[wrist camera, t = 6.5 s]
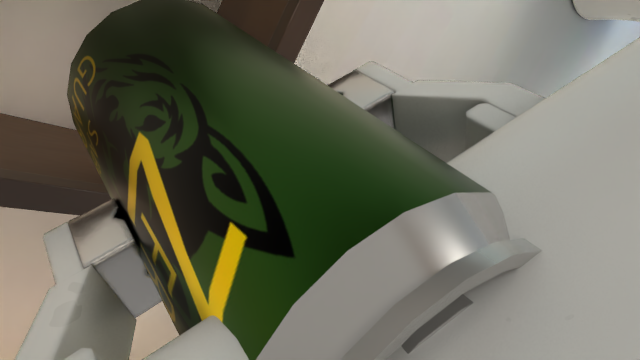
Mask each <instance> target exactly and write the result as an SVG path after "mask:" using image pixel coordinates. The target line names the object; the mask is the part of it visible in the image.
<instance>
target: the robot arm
mask: <svg viewBox="0 0 640 360" xmlns="http://www.w3.org/2000/svg"><path fill="white" fill-rule="evenodd" d="M573 4H574V6H575V9H576V11H577V12H578V14H579V15H580V16H582V17H583V18H585V19H588V20H630V21H640V0H573ZM327 86H329V87H330V88H332V89H334V90H335V91H337V92H338V93H340V94H341V95H343V96H344V97H346V98H347V99H349V100H350V101H352V102H354V103H355V104H357V105H358V106H360V107H361V108H363V109H364V110H366V111H367V112H369V113H370V114H372V115H373V116H375V117H377V118H378V119H380V120H381V121H383V122H384V123H386V124H387V125H389V126H390V127H392V128H393V129H395V130H397V131H398V132H400V133H401V134H403V135H404V136H406V137H407V138H409V139H410V140H412V141H413V142H415V143H416V144H418V145H420V146H421V147H423V148H424V149H426V150H427V151H429V152H430V153H432V154H433V155H435V156H436V157H438V158H440V159H441V160H443V161H444V162H446V163H447V164H449V165H450V166H452V167H453V168H455V169H456V170H458V171H460V172H461V173H463V174H464V175H466V176H467V177H469V178H470V179H472V180H473V181H475V182H476V183H478V184H479V185H481V186H483V187H484V188H486V189H487V190H489V191H490V192H492V193H493V194H495V196H496V198H497V200H498V202H499V204H500V206H501V209H502V211H503V213H504V217H505V221H506V225H507V229H508V233H509V237H510V240H514V239H522V238H525V239H526V240H528V241H529V242H530V243H532V244H533V245H535V246H536V247H538V248H539V249H541V250H542V251H541V252H540V253H538V254H537V255H536V256H534V257H533V258H532V259H531V260H529V261H528V262H527V263H526V264H524V265H523V266H522V267H520V268H518V269H512V270H507V271H504V272H502V273H501V274H499V275H497V276H495V277H493V278H491V279H489V280H487V281H486V282H484V283H482V284H480V285H478V286H476V287H474V288H472V289H471V290H469V291H467V292H465V293H463V294H464V295H465V296H466V297H467V298H469V299H470V300H471V301H472V302H474V303H473V304H471V305H470V306H469V307H468V308H466V309H465V310H464V311H463V312H461V313H460V314H459V315H457V316H456V317H455V318H454V319H452V320H451V321H450V322H449V323H447V324H446V325H445V326H443V327H442V328H441V329H440V330H438V331H437V332H436V333H435V334H433V335H432V336H431V337H429V338H428V339H427V340H426V341H424V342H423V343H422V344H421V345H419V346H418V347H417V348H415V349H414V350H413V351H412V352H410V353H409V354H407V352H406V351H405V350H404V349H403V348H402V346H400V347H399V348H398V349H397V350H396V351H395V352H394V353H393V354H392V355H391V356H390V357H389V359H388V360H640V38H638V39H637V40H635V41H633V42H632V43H630V44H629V45H627V46H626V47H624V48H623V49H621V50H620V51H618V52H617V53H615V54H613V55H612V56H610V57H609V58H607V59H606V60H604V61H603V62H601V63H600V64H598V65H596V66H595V67H593V68H592V69H590V70H589V71H587V72H586V73H584V74H583V75H581V76H579V77H578V78H576V79H575V80H573V81H572V82H570V83H569V84H567V85H566V86H564V87H562V88H561V89H559V90H558V91H556V92H555V93H553V94H552V95H550V96H549V97H547V98H544V97H542V96H539V95H537V94H535V93H533V92H530V91H528V90H526V89H524V88H521V87H519V86H517V85H515V84H513V83H498V82H467V81H436V80H417V81H415V82H414V83H413V82H411V81H410V80H408V79H406V78H404V77H402V76H400V75H398V74H396V73H394V72H392V71H391V70H389V69H387V68H385V67H383V66H381V65H379V64H377V63H375V62H367V63H365V64H364V65H362V66H360V67H359V68H357V69H355V70H353V72H351V73H349V74H347V75H345V76H343V77H342V78H340V79H338V80H336V81H334V82H333V83H331V84H329V85H327ZM43 241H44V244H45V248H46V251H47V255H48V259H49V262H50V266H51V269H52V273H53V277H54V280H55V284H56V285H55V286H53V287H51V288H50V289H49V290H48V292H47V294H46V296H45V298H44V300H43V302H42V304H41V306H40V308H39V310H38V312H37V314H36V316H35V318H34V321H33V323H32V325H31V327H30V329H29V331H28V333H27V335H26V337H25V339H24V341H23V343H22V345H21V347H20V349H19V351H18V353H17V355H16V357H15V359H14V360H129V355H130V350H131V345H132V340H133V335H134V330H135V325H136V319H135V318H136V317H138V316H139V315H141V314H142V313H144V312H146V311H147V310H149V309H150V308H152V307H153V306H155V305H156V304H158V303H159V302H161V301H162V299H161V297H160V295H159V293H158V291H157V289H156V287H155V285H154V283H153V281H152V279H151V277H150V275H149V273H148V271H147V269H146V267H145V265H144V263H143V261H142V258H141V252H140V248H139V246H138V244H137V242H136V240H135V238H134V235H133V233H132V231H131V229H130V227H129V226H128V225H127V223H126V222H125V220H124V216H123V214H122V212H121V210H120V208H119V206H118V204H117V202H116V200H115V199H114V198H113V199H111V200H109V201H108V202H106V203H104V204H102V205H100V206H98V207H96V208H94V209H92V210H90V211H88V212H86V213H84V214H82V215H80V216H78V217H76V218H74V219H72V220H70V221H69V222H66V223H64V224H62V225H60V226H58V227H57V228H55V229H53V230H51V231H49V232H47V233H45V234H44V237H43ZM143 360H249V359H248V357H247V355H246V354H245V352H244V350H243V348H242V347H241V345H240V343H239V342H238V340H237V338H236V337H235V336H234V335H233V334H232V333H231V332H230V331H229V329H228V328H227V327H226V326H225V325H224V324H223V323H222V322H221V321H220V320H219V319H218V317H216V316H213V315H212V316H209V317H207V318H206V319H204V320H203V321H201V322H200V323H198V324H197V325H195V326H194V327H192V328H190V329H189V330H187V331H186V332H184V333H183V334H181V335H180V336H178V337H177V338H175V339H173V340H172V341H170V342H169V343H167V344H166V345H164V346H163V347H161V348H160V349H158V350H156V351H155V352H153V353H152V354H150V355H149V356H147V357H146V358H144V359H143Z"/></svg>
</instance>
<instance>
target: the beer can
mask: <svg viewBox="0 0 640 360" xmlns="http://www.w3.org/2000/svg"><path fill="white" fill-rule="evenodd" d="M67 96H68V101H69V105H70V109H71V113H72V118H73V122H74V125H75V127H76V129H77V131H78V133H79V135H80V137H81V139H82V141H83V143H84V145H85V147H86V149H87V151H88V153H89V155H90V157H91V159H92V161H93V163H94V165H95V167H96V169H97V171H98V173H99V175H100V177H101V179H102V181H103V183H104V185H105V187H106V189H107V191H108V193H109V195H110V197H111V199H113V198H114V199H115V200H116V202H117V204H118V206H119V208H120V210H121V212H122V214H123V216H124V220H125V222H126V223H127V225H128V226H129V227H130V229H131V231H132V233H133V235H134V238H135V240H136V242H137V244H138V246H139V248H140V252H141V258H142V261H143V263H144V265H145V267H146V269H147V271H148V273H149V275H150V277H151V279H152V281H153V283H154V285H155V287H156V289H157V291H158V293H159V295H160V297H161V299H162V301H163V303H164V305H165V307H166V309H167V311H168V313H169V315H170V317H171V319H172V321H173V323H174V325H175V327H176V329H177V331H178V333H179V335H181V334H183V333H184V332H186V331H187V330H189V329H190V328H192V327H194V326H195V325H197V324H198V323H200V322H201V321H203V320H204V319H206V318H207V317H209V316H212V315H213V316H216V317H218V319H219V320H220V321H221V322H222V323H223V324H224V325H225V326H226V327H227V328H228V329H229V331H230V332H231V333H232V334H233V335H234V336H235V337H236V338H237V340H238V342H239V343H240V345H241V347H242V348H243V350H244V352H245V354H246V355H247V357H248V359H249V360H388V359H389V357H390V356H391V355H392V354H393V353H394V352H395V351H396V350H397V349H398V348H399V347H400V346H402V348H403V349H404V350H405V351H406V352H407V354H409V353H410V352H412V351H413V350H414V349H415V348H417V347H418V346H419V345H421V344H422V343H423V342H424V341H426V340H427V339H428V338H429V337H431V336H432V335H433V334H435V333H436V332H437V331H438V330H440V329H441V328H442V327H443V326H445V325H446V324H447V323H449V322H450V321H451V320H452V319H454V318H455V317H456V316H457V315H459V314H460V313H461V312H463V311H464V310H465V309H466V308H468V307H469V306H470V305H471V304H473V303H474V302H472V301H471V300H470V299H469V298H467V297H466V296H465V295H464V294H463V293H465V292H467V291H469V290H471V289H472V288H474V287H476V286H478V285H480V284H482V283H484V282H486V281H487V280H489V279H491V278H493V277H495V276H497V275H499V274H501V273H502V272H504V271H507V270H512V269H518V268H520V267H522V266H523V265H524V264H526V263H527V262H528V261H529V260H531V259H532V258H533V257H534V256H536V255H537V254H538V253H540V252H541V251H542V250H541V249H539V248H538V247H536V246H535V245H533V244H532V243H530V242H529V241H528V240H526V239H525V238H522V239H514V240H510V237H509V233H508V229H507V225H506V221H505V217H504V213H503V211H502V209H501V206H500V204H499V202H498V200H497V198H496V196H495V194H493V193H492V192H490V191H489V190H487V189H486V188H484V187H483V186H481V185H479V184H478V183H476V182H475V181H473V180H472V179H470V178H469V177H467V176H466V175H464V174H463V173H461V172H460V171H458V170H456V169H455V168H453V167H452V166H450V165H449V164H447V163H446V162H444V161H443V160H441V159H440V158H438V157H436V156H435V155H433V154H432V153H430V152H429V151H427V150H426V149H424V148H423V147H421V146H420V145H418V144H416V143H415V142H413V141H412V140H410V139H409V138H407V137H406V136H404V135H403V134H401V133H400V132H398V131H397V130H395V129H393V128H392V127H390V126H389V125H387V124H386V123H384V122H383V121H381V120H380V119H378V118H377V117H375V116H373V115H372V114H370V113H369V112H367V111H366V110H364V109H363V108H361V107H360V106H358V105H357V104H355V103H354V102H352V101H350V100H349V99H347V98H346V97H344V96H343V95H341V94H340V93H338V92H337V91H335V90H334V89H332V88H330V87H329V86H327V85H326V84H324V83H323V82H321V81H320V80H318V79H317V78H315V77H314V76H312V75H310V74H309V73H307V72H306V71H304V70H303V69H301V68H300V67H298V66H297V65H295V64H294V63H292V62H291V61H289V60H287V59H286V58H284V57H283V56H281V55H280V54H278V53H277V52H275V51H274V50H272V49H271V48H269V47H267V46H266V45H264V44H263V43H261V42H260V41H258V40H257V39H255V38H254V37H252V36H251V35H249V34H248V33H246V32H244V31H243V30H241V29H240V28H238V27H237V26H235V25H234V24H232V23H231V22H229V21H228V20H226V19H224V18H223V17H221V16H220V15H218V14H217V13H215V12H214V11H212V10H211V9H209V8H208V7H206V6H204V5H203V4H199V3H195V2H191V1H187V0H140V1H137V2H135V3H133V4H130V5H128V6H126V7H123V8H121V9H118V10H116V11H114V12H111V13H110V14H109V15H108V16H107V17H106V18H105V19H104V20H103V21H102V22H100V23H99V24H98V25H97V26H96V27H95V28H94V29H93V30H92V31H90V32H89V33H88V34H87V35H86V37H85V39H84V41H83V43H82V45H81V46H80V48H79V50H78V52H77V54H76V56H75V58H74V59H73V61H72V63H71V69H70V76H69V84H68V91H67Z"/></svg>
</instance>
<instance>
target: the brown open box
mask: <svg viewBox="0 0 640 360" xmlns="http://www.w3.org/2000/svg"><path fill="white" fill-rule="evenodd" d="M323 2H324V0H223V1H222V3H221V5H220V8H219V10H218V12H217V14H218V15H220V16H221V17H223V18H224V19H226V20H228V21H229V22H231V23H232V24H234V25H235V26H237V27H238V28H240V29H241V30H243V31H244V32H246V33H248V34H249V35H251V36H252V37H254V38H255V39H257V40H258V41H260V42H261V43H263V44H264V45H266V46H267V47H269V48H271V49H272V50H274V51H275V52H277V53H278V54H280V55H281V56H283V57H284V58H286V59H287V60H289V61H291V62H292V63H294V62H295V60H296V58H297V56H298V54H299V52H300V50H301V47H302V45H303V43H304V41H305V39H306V37H307V35H308V33H309V31H310V29H311V27H312V25H313V22H314V20H315V18H316V16H317V14H318V12H319V10H320V8H321V6H322V4H323ZM109 200H111V197H110V195H109V193H108V191H107V189H106V187H105V185H104V183H103V181H102V179H101V177H100V175H99V173H98V171H97V169H96V167H95V165H94V163H93V161H92V159H91V157H90V155H89V153H88V151H87V149H86V147H85V145H84V143H83V141H82V139H81V137H80V135H79V133H78V131H77V130H72V129H68V128H63V127H59V126H54V125H50V124H45V123H41V122H37V121H32V120H28V119H23V118H19V117H14V116H10V115H5V114H1V113H0V207H9V208H18V209H27V210H36V211H45V212H54V213H63V214H72V215H82V214H84V213H86V212H88V211H90V210H92V209H94V208H96V207H98V206H100V205H102V204H104V203H106V202H108V201H109Z"/></svg>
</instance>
